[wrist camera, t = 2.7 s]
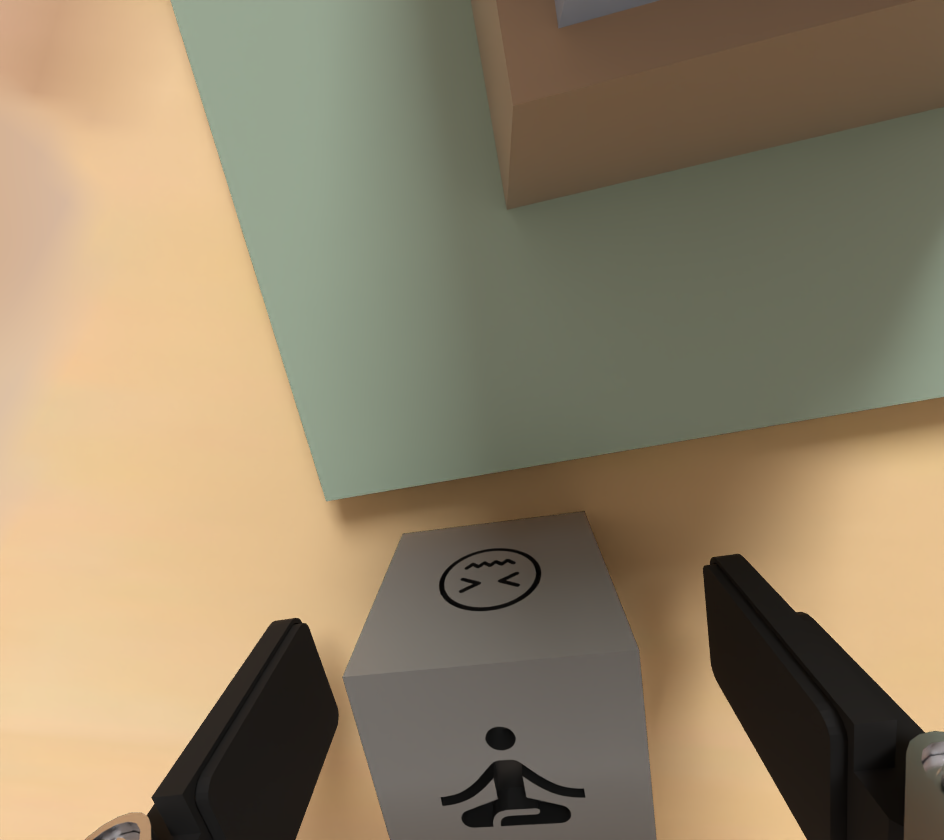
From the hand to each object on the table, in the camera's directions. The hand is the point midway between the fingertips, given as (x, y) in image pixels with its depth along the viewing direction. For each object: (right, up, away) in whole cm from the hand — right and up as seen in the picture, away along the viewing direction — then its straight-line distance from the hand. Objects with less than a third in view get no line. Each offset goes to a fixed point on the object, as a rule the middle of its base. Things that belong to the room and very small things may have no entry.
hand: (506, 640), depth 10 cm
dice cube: (0, 0, +3) cm, 3 cm away
